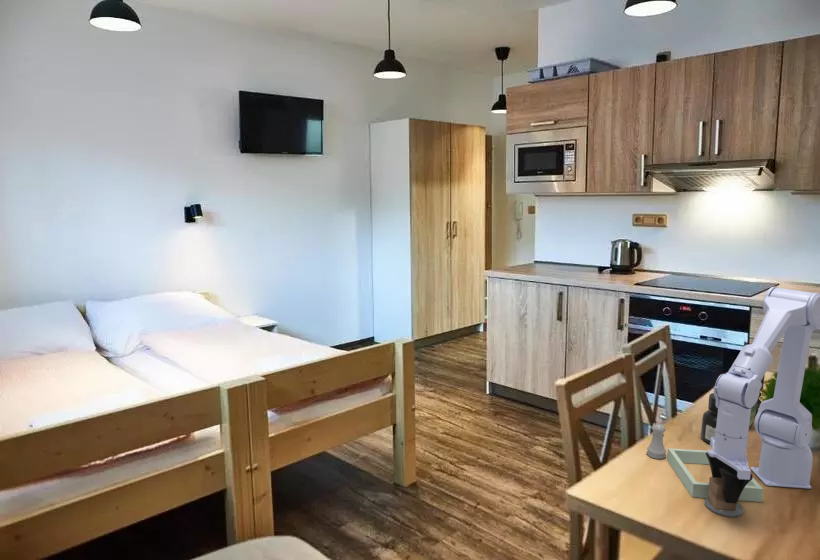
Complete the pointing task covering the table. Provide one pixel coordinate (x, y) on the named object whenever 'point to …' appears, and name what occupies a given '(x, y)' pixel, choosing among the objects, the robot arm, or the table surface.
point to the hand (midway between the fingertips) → (724, 494)
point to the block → (718, 495)
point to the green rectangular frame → (700, 488)
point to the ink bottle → (709, 420)
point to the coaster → (725, 512)
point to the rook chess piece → (657, 442)
